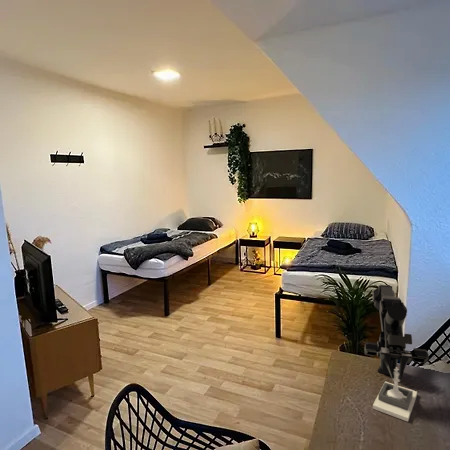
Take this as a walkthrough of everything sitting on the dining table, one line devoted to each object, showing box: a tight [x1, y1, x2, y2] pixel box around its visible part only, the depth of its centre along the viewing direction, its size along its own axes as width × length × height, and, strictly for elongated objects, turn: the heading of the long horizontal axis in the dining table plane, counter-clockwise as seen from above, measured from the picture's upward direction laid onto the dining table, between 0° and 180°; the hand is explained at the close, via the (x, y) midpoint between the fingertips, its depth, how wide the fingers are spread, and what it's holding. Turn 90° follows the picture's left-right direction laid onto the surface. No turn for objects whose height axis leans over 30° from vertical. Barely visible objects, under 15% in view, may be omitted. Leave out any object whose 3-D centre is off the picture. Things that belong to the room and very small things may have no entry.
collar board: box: [372, 381, 418, 422], centre depth 107 cm, size 16×10×3 cm, turn 141°
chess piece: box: [387, 366, 404, 400], centre depth 107 cm, size 5×5×10 cm
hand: (396, 379), depth 105 cm, fingers closed on chess piece
